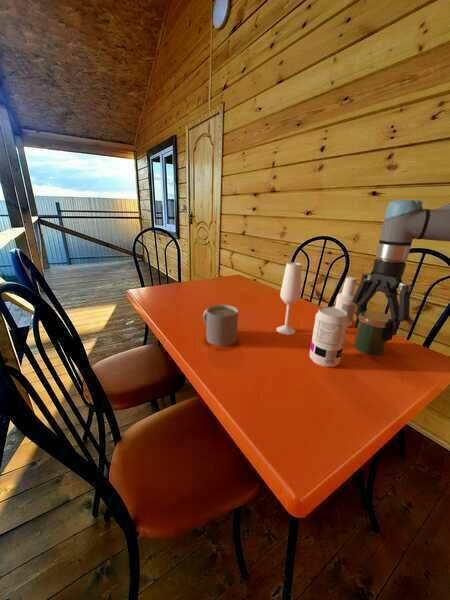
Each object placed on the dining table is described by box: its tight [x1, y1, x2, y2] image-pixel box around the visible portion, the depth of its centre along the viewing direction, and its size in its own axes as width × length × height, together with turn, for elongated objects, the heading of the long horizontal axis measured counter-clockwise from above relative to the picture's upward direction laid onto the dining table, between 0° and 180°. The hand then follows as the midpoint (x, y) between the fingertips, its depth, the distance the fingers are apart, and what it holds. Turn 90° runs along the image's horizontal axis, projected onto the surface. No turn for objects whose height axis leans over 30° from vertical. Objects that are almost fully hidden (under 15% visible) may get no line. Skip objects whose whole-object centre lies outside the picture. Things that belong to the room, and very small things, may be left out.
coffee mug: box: [202, 304, 239, 347], centre depth 83 cm, size 13×10×10 cm
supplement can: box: [308, 306, 349, 368], centre depth 70 cm, size 8×8×15 cm
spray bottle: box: [334, 276, 357, 328], centre depth 94 cm, size 7×7×18 cm
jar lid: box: [359, 310, 392, 328], centre depth 76 cm, size 9×9×2 cm
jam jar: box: [353, 320, 388, 357], centre depth 78 cm, size 8×8×10 cm
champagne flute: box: [275, 261, 303, 336], centre depth 86 cm, size 7×7×24 cm
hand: (372, 332), depth 78 cm, fingers closed on jar lid, 9 cm apart
